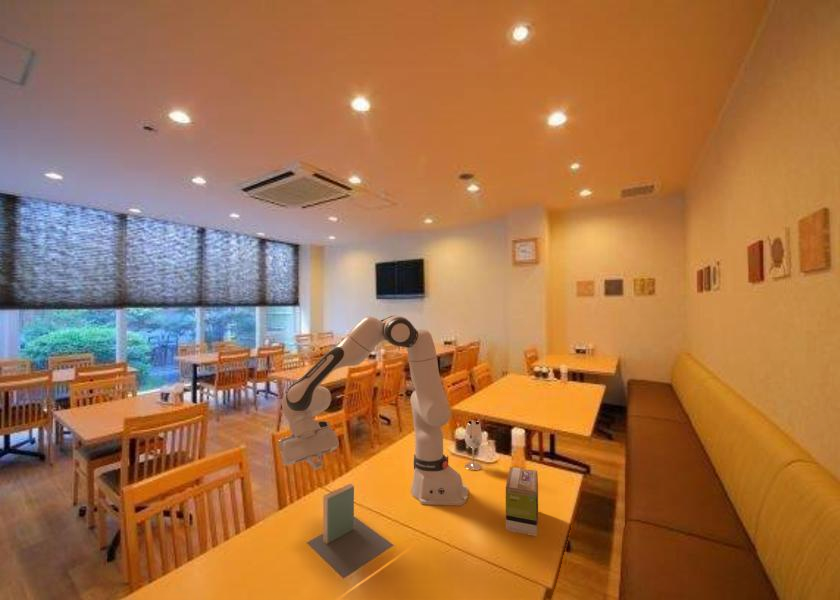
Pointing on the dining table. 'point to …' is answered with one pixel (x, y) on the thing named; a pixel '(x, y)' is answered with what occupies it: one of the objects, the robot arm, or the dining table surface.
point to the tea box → (522, 501)
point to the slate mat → (351, 548)
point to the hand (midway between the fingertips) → (318, 468)
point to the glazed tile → (338, 513)
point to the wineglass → (473, 441)
